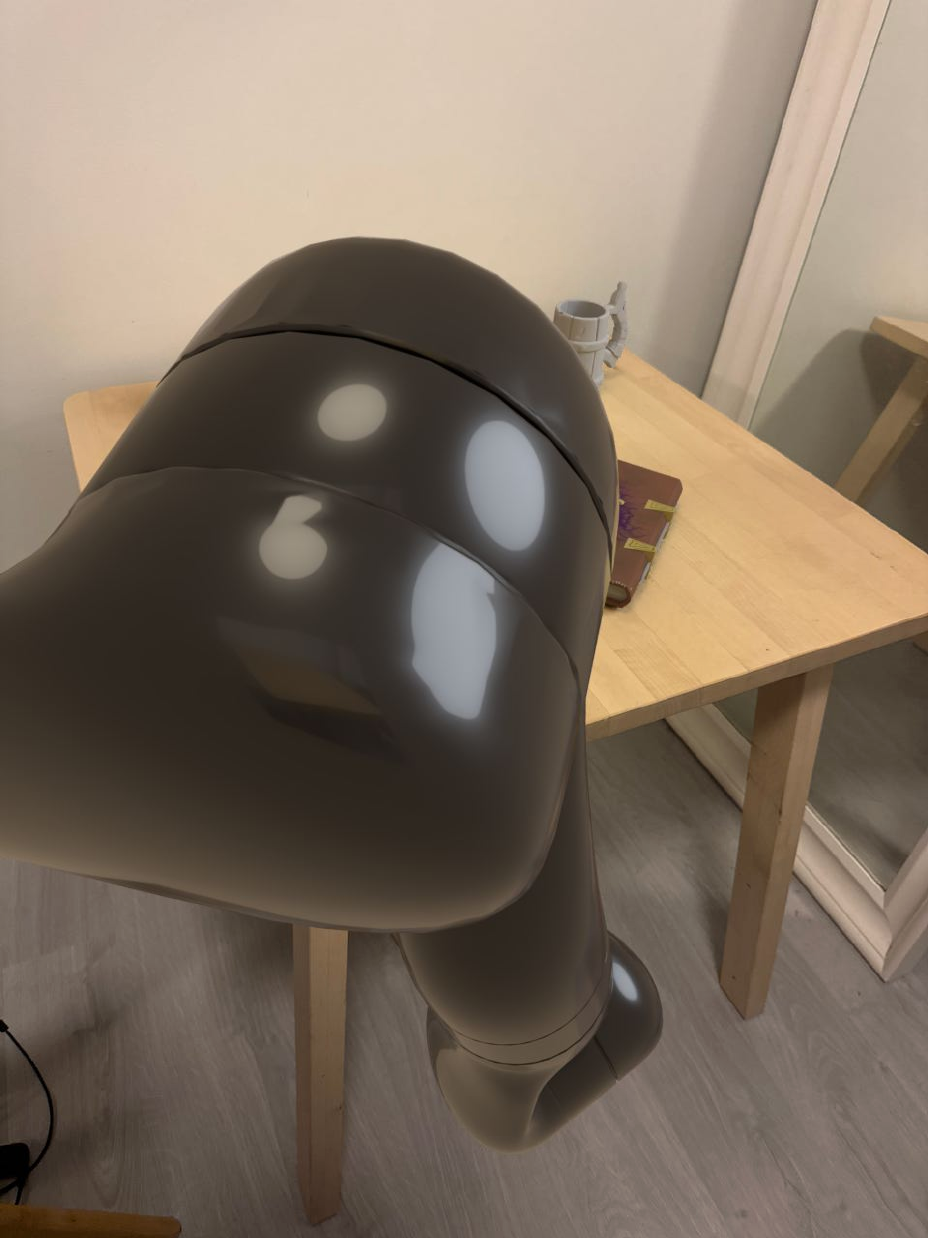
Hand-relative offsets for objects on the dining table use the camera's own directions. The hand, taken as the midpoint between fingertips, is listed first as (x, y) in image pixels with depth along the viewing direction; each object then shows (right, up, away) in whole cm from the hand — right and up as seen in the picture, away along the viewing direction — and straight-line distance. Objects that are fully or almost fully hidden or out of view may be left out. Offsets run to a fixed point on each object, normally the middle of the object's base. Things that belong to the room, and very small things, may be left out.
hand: (247, 611), depth 62 cm
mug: (+30, +29, +51) cm, 66 cm away
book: (+27, +9, +28) cm, 39 cm away
